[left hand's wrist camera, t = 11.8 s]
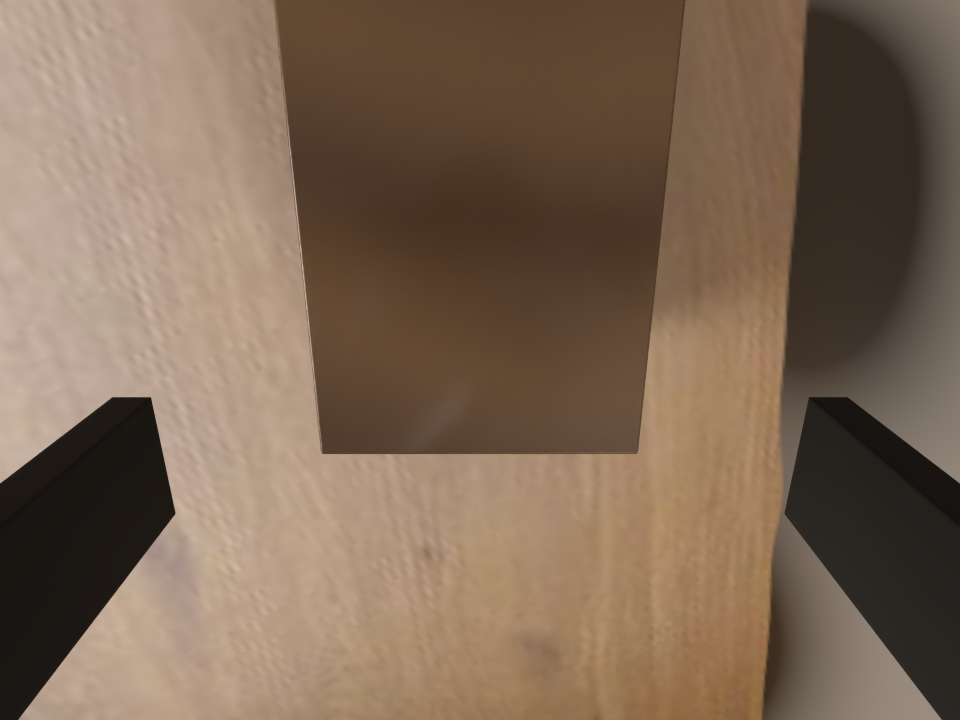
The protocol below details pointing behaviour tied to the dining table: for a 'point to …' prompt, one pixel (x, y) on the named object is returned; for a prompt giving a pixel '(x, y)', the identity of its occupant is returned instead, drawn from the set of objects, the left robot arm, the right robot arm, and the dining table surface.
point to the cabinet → (479, 217)
